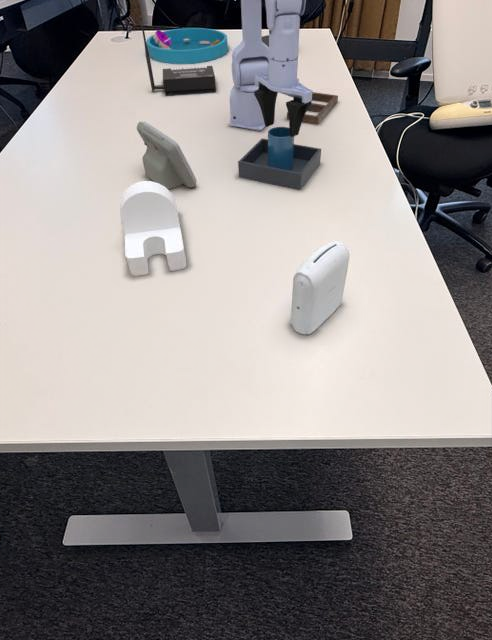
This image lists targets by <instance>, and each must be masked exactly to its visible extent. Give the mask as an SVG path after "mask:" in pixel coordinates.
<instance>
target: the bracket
mask: <svg viewBox="0 0 492 640" xmlns="http://www.w3.org/2000/svg"><path fill="white" fill-rule="evenodd" d="M119 213H120V214H119V217H120V224H121V226H122V231H123V233H124V252H125V253H124V256H125V258H126V262H127V265H128V269H129V272H130V274H131V275H132V276H135V277H137V276H139V277H140V276H145V275H149V263H148V262H149V259H150V258H151V257H153V256H154V255H164V256H166V259H167V264H168V269H169V272H173V271H179V270H184V269H185V268H186V267H187V259H186V253H185V246H184V241H183V235H182V230H181V229H182V228H181V223H180V218H179V211H178V207H177V201H176V198H175V196H174V195H173V194H172V192H171V191H170V189H169V190H168V189H167V188H166V187H164V186H163V185H161V184H159V183H156V182H153V181H152V180H142V181H138V182H134V183H133V184H131V185H130V186H129V185H128V187H127V188H126V189H125V190H124V191H123V193H122V195H121V197H120V203H119Z"/></svg>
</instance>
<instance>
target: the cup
mask: <svg viewBox="0 0 492 640" xmlns="http://www.w3.org/2000/svg"><path fill="white" fill-rule="evenodd" d="M267 139H268V166H269V167H274V168H279V169H284V170H289V171H291V170H292V169H293V153H294V144H295V136H294V137H290V134H289V126H273V127H272V128H270V129H269V130H268V131H267Z"/></svg>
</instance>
